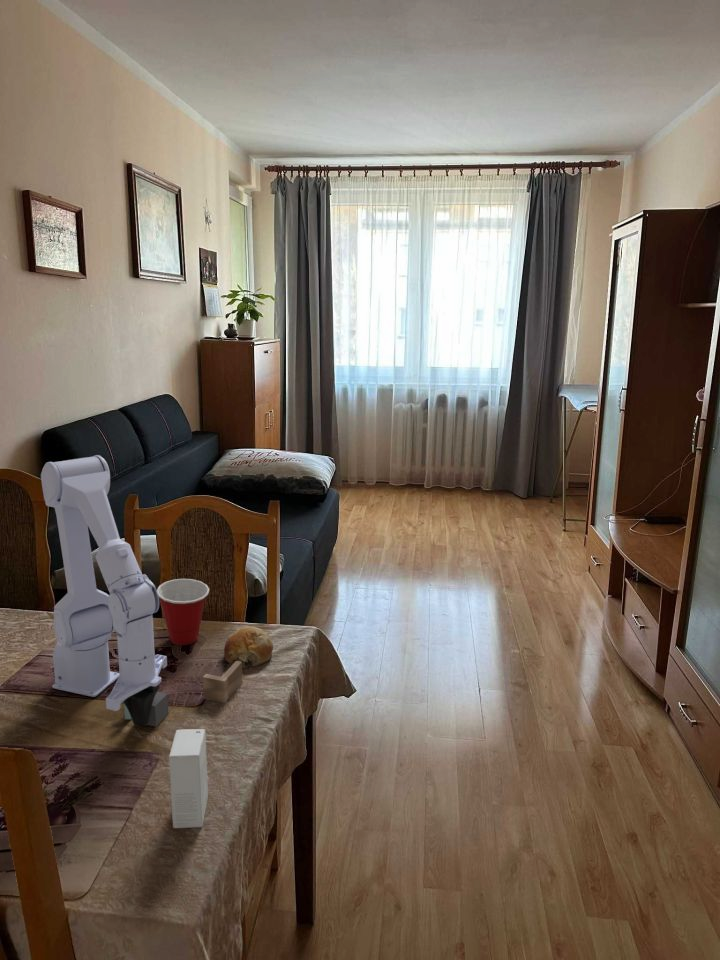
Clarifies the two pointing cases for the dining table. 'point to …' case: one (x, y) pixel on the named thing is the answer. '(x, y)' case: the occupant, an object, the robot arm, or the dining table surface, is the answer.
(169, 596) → the plastic cup
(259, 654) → the bread roll
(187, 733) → the skincare box
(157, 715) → the gray cube block
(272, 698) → the dining table surface
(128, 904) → the dining table surface
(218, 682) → the wooden blocks
